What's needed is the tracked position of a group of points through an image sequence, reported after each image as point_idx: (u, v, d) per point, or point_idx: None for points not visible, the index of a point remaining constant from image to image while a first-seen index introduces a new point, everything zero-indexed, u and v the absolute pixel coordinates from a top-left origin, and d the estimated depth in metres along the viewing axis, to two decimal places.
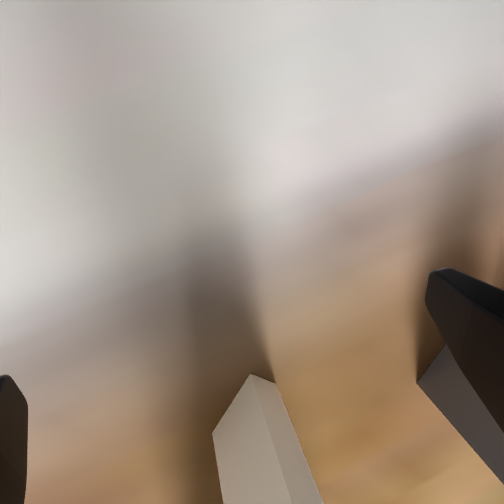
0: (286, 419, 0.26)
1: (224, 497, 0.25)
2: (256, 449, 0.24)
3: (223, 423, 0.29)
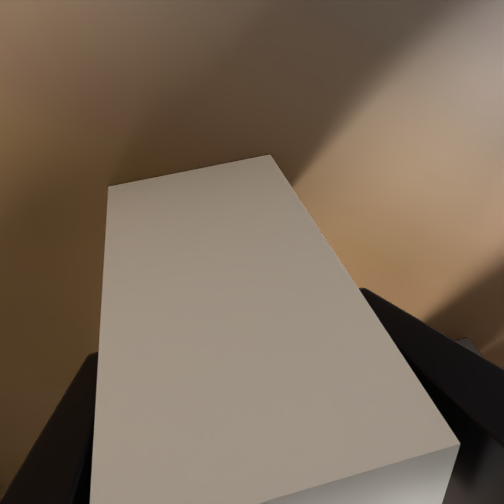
0: None
1: (111, 297, 0.09)
2: (274, 258, 0.10)
3: (154, 185, 0.13)
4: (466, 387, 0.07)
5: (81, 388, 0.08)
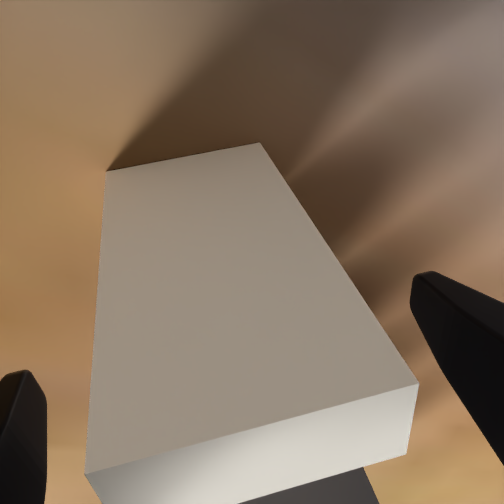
0: None
1: (107, 267, 0.10)
2: (260, 233, 0.11)
3: (149, 170, 0.14)
4: None
5: None
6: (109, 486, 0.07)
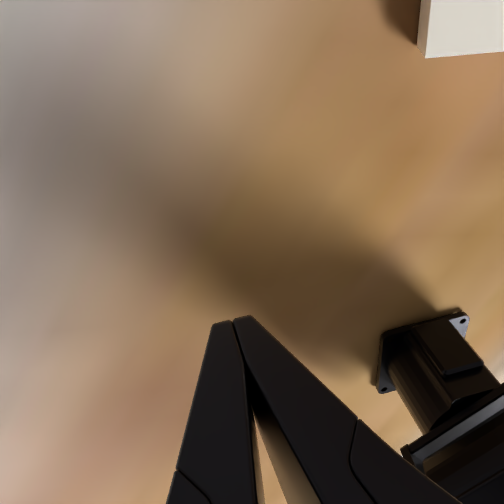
0: None
1: None
2: None
3: (443, 20, 0.18)
4: (307, 432, 0.06)
5: (219, 353, 0.08)
6: None
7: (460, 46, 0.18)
